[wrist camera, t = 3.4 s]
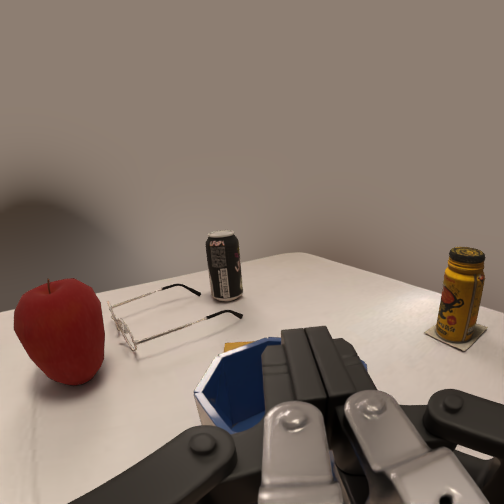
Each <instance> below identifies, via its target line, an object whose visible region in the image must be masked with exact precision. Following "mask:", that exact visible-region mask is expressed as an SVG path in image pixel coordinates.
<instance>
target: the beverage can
mask: <svg viewBox="0 0 504 504" xmlns="http://www.w3.org/2000/svg"><path fill="white" fill-rule="evenodd" d="M208 236H209V237H208V239H207V241H206V253H207V261H208V270H209V278H210V286H211V294H212V297H213V298H215V299H217V300H219V301H232V300H235V299H237V298H238V297H239V296H241V295H242V293H243V288H242V276H241V265H240V253H239V242H238V239H237V238H236V236H235V235H234V231H231V230H230V231H229V230H223V231H215V232H211V233H209V234H208Z"/></svg>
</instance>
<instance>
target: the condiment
mask: <svg viewBox="0 0 504 504" xmlns="http://www.w3.org/2000/svg"><path fill="white" fill-rule="evenodd" d="M449 255H450V256H449V260H448V267H447V269H446V270H445V275H444V282H443V289H442V296H441V302H440V307H439V313H438V319H437V324H436V325H435V326H433V327H432V328H430V329H429V330H427V331H426V332H424V333H426V334H428V335H430V336H432V337H434V338H436V339H438V340H440V341H442V342H445V343H447V344H449V345H451V346H454V347H457V348H459V349H461V350H463V351H465V350H467V349H468V348H469V347H470V346H471V345H472V344H473V343H474V342H475V341H476V340H477V339H478V337H479V336H480V335H481V334H482V333H483V332H484V331H485V330H486V329H487V328H488V327H485V326H481V325H479V324H476V321H477V316H478V311H479V306H480V301H481V296H482V291H483V286H484V280H485V275H484V272H483V269H484V260H485V254H484V253H483V252H482V251H480V250H478V249H474V248H469V247H456V248H452V249H451V250H450V253H449Z"/></svg>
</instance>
